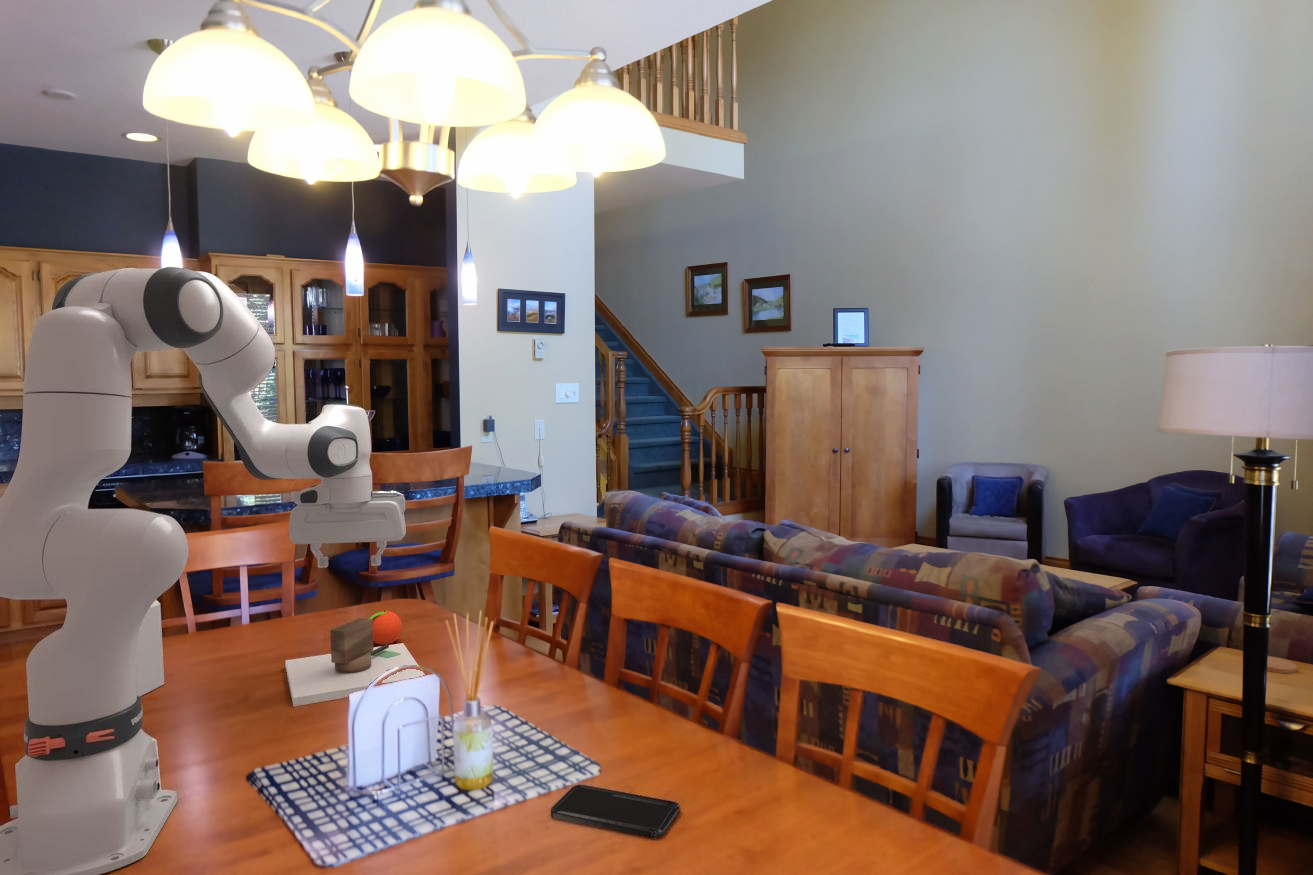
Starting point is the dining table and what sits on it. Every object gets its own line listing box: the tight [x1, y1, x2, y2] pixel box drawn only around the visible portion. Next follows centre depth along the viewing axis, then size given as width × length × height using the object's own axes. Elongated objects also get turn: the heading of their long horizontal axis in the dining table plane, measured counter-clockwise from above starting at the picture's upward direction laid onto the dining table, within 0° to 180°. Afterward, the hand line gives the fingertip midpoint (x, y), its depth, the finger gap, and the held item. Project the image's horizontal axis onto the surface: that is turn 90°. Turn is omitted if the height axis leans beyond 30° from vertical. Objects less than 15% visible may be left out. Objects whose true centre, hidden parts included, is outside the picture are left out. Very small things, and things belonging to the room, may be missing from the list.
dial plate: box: [284, 642, 426, 707], centre depth 155 cm, size 22×22×2 cm
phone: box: [550, 784, 681, 840], centre depth 104 cm, size 8×1×15 cm
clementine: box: [369, 610, 403, 646], centre depth 174 cm, size 8×7×7 cm
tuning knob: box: [329, 618, 390, 673], centre depth 158 cm, size 6×14×8 cm, turn 162°
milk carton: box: [136, 599, 165, 698], centre depth 148 cm, size 7×7×19 cm
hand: (349, 566), depth 154 cm, fingers open, 8 cm apart
